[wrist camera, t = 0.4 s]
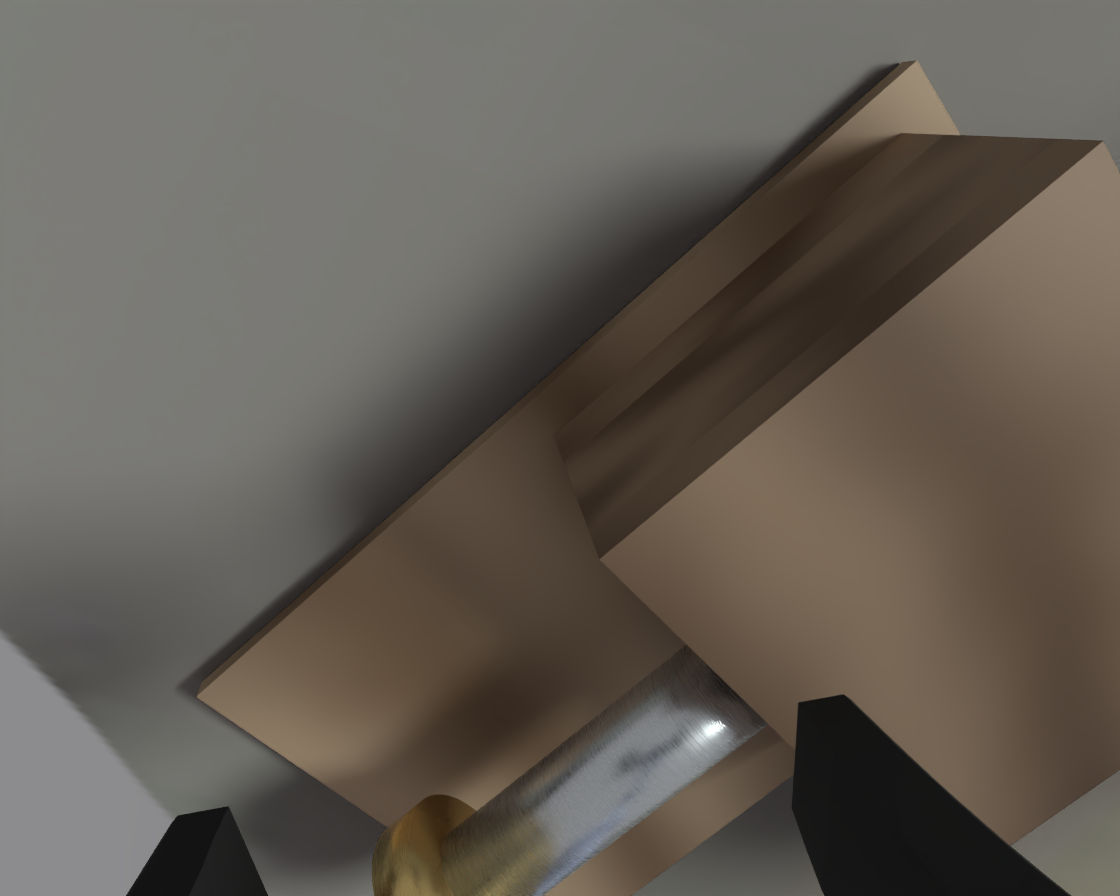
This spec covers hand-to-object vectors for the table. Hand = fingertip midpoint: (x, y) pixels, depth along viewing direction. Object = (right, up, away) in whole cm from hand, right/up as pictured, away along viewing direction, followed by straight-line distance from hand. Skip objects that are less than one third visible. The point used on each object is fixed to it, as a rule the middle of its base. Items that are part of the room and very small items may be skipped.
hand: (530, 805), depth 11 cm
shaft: (+1, -2, +11) cm, 11 cm away
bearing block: (+4, +1, +11) cm, 12 cm away
